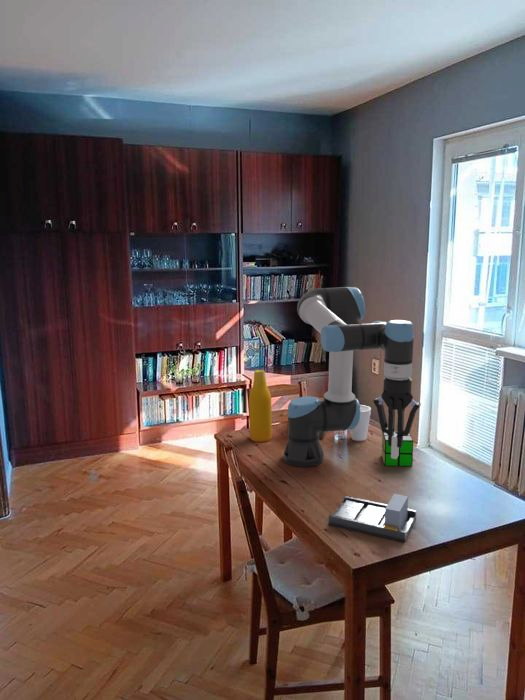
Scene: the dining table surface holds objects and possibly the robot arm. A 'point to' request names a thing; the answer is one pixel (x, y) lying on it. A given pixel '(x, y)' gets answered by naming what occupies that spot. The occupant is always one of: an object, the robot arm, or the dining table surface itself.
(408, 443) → the puzzle cube
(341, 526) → the rack
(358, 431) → the foam cup
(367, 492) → the dining table surface
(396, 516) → the pale blue rectangular prism
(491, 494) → the dining table surface
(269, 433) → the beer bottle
